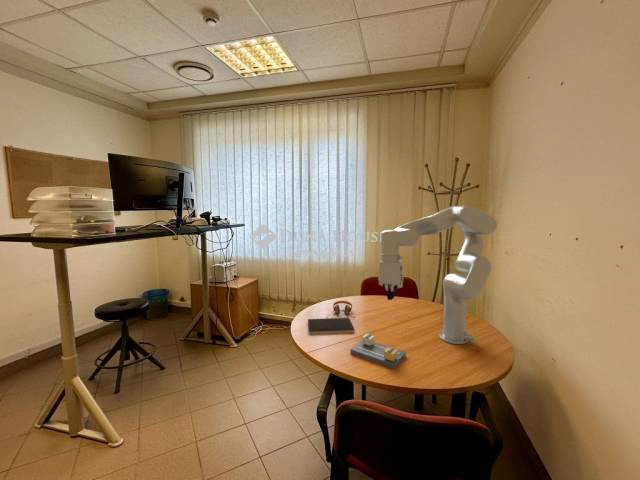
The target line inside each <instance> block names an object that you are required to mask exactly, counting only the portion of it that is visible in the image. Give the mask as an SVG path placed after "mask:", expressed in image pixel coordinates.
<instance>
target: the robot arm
mask: <svg viewBox="0 0 640 480" xmlns="http://www.w3.org/2000/svg"><path fill="white" fill-rule="evenodd" d="M497 225H498V224H497V220H496V219H495V218H494V217H493V216H492V215H491V214H488V213H487V212H486V213H485V212H484V211H481V210H480V209H477V208H475V207H473V206H470V205H469V206H468V205H455V206H454V205H451V206H450V207H447V208H445V209H443V210H440V211H438V212H436V213H434V214H432V215H429V216H425V217H422V218H419V219H415V220H412V221H410V222H406V223H404V224H401V225H399V226H398V227H396V228H394V229H385V230H382V232H381V234H380V236H381V237H380V239H381V245H380V248H381V255H380V256H381V260H380V261H379V266H378V285H379V286H381V287H383V288H384V289H385V291H386V298H387V300H389V301H392V300H393V299H394V298H395V291H396V290H398V289H401V288H403V287H404V286H403V285H404V284H403V283H404V270H403V264H402V260H403V256H401V255H400V247H407V248H408V247H414V246H415V245H417V244H418V242H419V241H420V236H431V235H437V234H440V233H441V232H443V231H446V230H447V229H450V228H453V227H455V226H460V229H461V231H462V234H463V237H464V239H463V240H464V242H463V244H462V247H461V249H460V251H459V254H458V255H457V258H456V260H455V262H454V263H455V264H454V266H455V267H454V268H456V270H457V271H459V272H461V273H463V274H467V276H466V275H463V274H460V273H455V272H454V273H453V272H452V273H448V274H447V275H445V276H444V278H443V280H442V287H443V297H444V298H443V299H444V300H443V301H444V303H443V320H442V321H443V323H442V325H443V327H442V330H441V332H439V335H438V336H439V338H440V339H441V340H442V341H444V342H447V343H449V344H452V345H465V344H468V343H469V341H471V342H475V341H476V336H474V334H470V333H468V330H467V329H466V321H467V320H466V319H467V317H466V316H467V301H468V300H469V301H473V300H476V299H477V298H478V297H479V296H480V295H481V294H482V292H483V289H484V287H485V285H486V283H487V281H488V278H489V277H490V274H491V271H492V264H491V263H492V262H491V261H490V259H489V258H487V257H486V256H483V255H482V253H483V250H484V248H485V242H484V241H485V240H484V238H483V236H486V235H491V234H493V233H494V232H496V230H497Z"/></svg>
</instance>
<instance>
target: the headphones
mask: <svg viewBox="0 0 640 480" xmlns="http://www.w3.org/2000/svg"><path fill="white" fill-rule="evenodd" d="M339 304H346V305H345V307H344V309H343V310H344V314H342V313H341V310H340V309H341V307H340V305H339ZM332 307H333V312H334V313H335V314H336V317H332V318H346V316H344V317H342V316H343V315H347V314H351V312H352V309H353V304H352V302H351V301H347V300H337V301H335V302H334V303H333V305H332ZM340 313H341V316H339V315H340ZM329 316H330V314H328V315H327V317H329ZM352 318H353V319H354V318H355V316H352ZM352 318H349V319H350V321H351V320H352Z"/></svg>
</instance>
